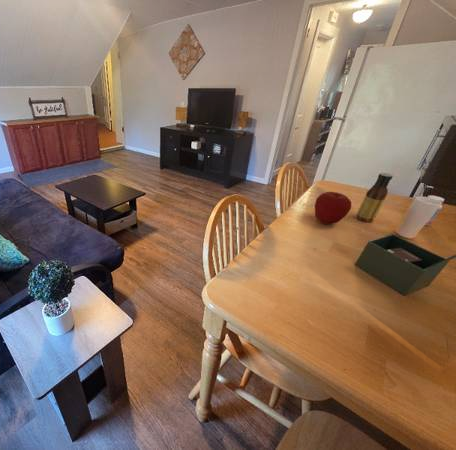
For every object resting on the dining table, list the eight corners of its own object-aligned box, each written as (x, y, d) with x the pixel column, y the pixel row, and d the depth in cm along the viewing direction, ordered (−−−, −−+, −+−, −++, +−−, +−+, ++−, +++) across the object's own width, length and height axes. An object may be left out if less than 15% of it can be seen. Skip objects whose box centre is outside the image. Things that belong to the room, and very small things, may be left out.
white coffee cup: (389, 229, 97) (410, 195, 89) (409, 231, 96) (432, 197, 88) (400, 239, 91) (424, 203, 83) (421, 241, 90) (447, 205, 82)
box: (408, 278, 73) (423, 259, 69) (393, 281, 72) (406, 262, 68) (388, 265, 78) (400, 247, 74) (373, 268, 77) (385, 249, 73)
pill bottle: (431, 227, 99) (449, 202, 93) (411, 223, 102) (428, 198, 96) (427, 221, 103) (444, 197, 97) (409, 217, 106) (424, 193, 100)
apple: (348, 229, 97) (364, 199, 90) (319, 229, 97) (332, 198, 90) (330, 214, 107) (343, 186, 100) (303, 214, 107) (314, 186, 100)
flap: (450, 258, 66) (452, 259, 66) (425, 268, 62) (426, 269, 62) (480, 244, 61) (482, 246, 60) (454, 255, 57) (456, 256, 57)
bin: (429, 285, 71) (449, 260, 66) (404, 296, 68) (424, 270, 63) (378, 257, 82) (392, 234, 77) (354, 265, 79) (368, 241, 74)
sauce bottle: (367, 215, 107) (390, 171, 96) (376, 223, 101) (402, 177, 91) (351, 214, 107) (373, 171, 96) (360, 222, 102) (384, 176, 91)
